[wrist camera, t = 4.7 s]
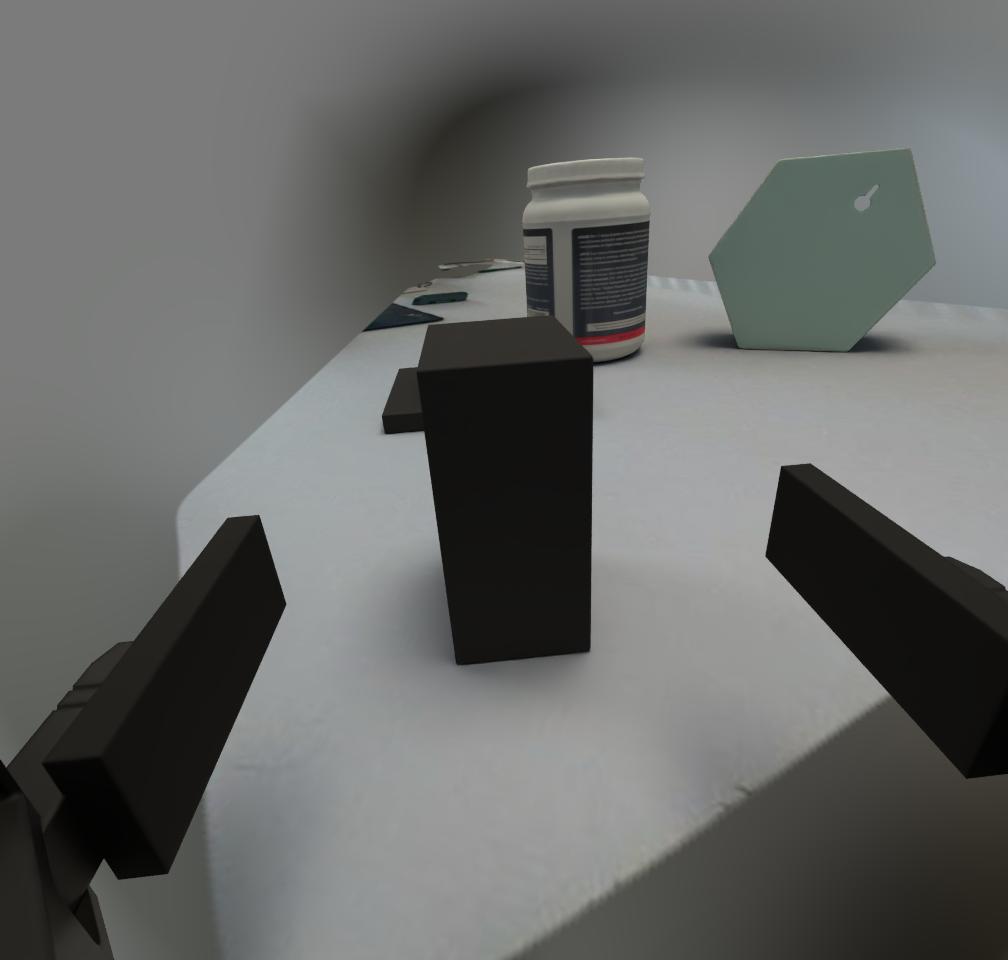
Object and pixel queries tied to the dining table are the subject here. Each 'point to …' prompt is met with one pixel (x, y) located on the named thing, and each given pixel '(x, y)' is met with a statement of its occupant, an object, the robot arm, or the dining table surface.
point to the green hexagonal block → (823, 251)
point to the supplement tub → (589, 251)
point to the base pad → (403, 404)
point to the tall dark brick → (511, 483)
